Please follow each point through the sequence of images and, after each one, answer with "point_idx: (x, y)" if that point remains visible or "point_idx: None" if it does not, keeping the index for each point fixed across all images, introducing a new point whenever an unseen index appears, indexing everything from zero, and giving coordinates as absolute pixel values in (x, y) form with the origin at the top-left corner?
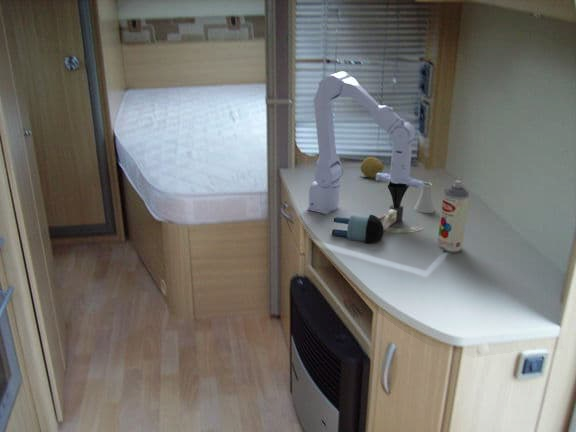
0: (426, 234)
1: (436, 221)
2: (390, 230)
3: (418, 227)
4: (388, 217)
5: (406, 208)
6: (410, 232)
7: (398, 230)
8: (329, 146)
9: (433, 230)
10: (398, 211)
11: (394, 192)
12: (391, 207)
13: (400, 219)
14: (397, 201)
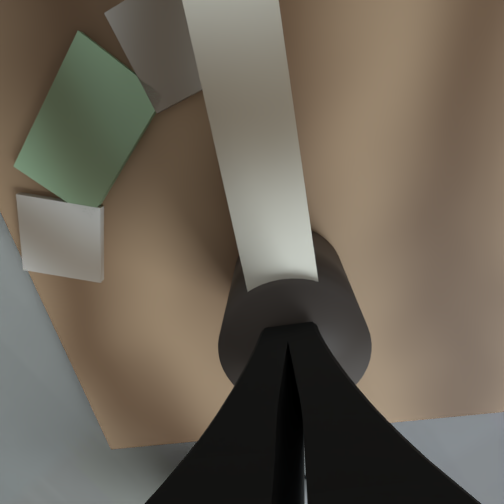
0: (15, 253)
1: (127, 448)
2: (168, 24)
3: (67, 269)
4: (188, 14)
5: None
6: (28, 134)
7: (120, 89)
8: None
9: (40, 336)
10: (236, 294)
11: (319, 497)
12: (328, 296)
13: (232, 278)
14: (253, 371)
